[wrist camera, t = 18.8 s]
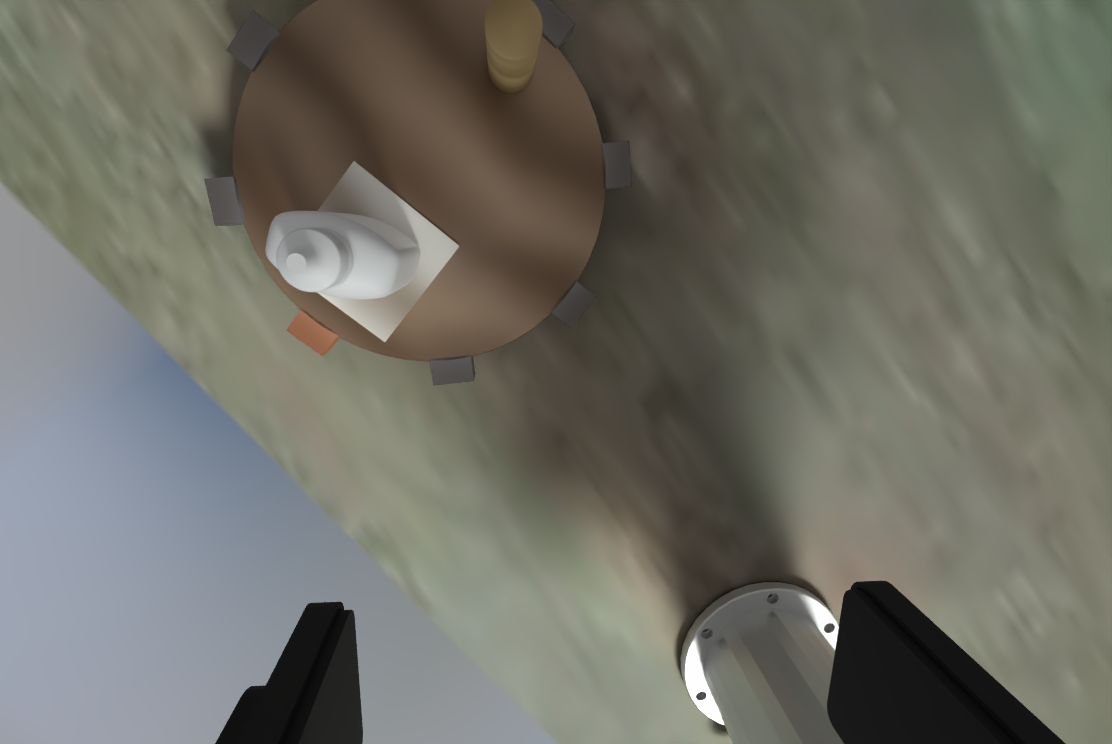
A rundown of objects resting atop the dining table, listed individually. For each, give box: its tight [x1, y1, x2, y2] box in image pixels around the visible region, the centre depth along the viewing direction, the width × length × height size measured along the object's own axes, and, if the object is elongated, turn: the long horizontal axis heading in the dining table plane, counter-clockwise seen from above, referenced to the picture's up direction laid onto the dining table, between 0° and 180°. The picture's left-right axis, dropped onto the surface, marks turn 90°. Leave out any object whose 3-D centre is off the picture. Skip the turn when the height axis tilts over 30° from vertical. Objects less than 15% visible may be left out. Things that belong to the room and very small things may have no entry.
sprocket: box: [204, 0, 632, 385], centre depth 29 cm, size 23×23×9 cm
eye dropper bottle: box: [265, 211, 420, 300], centre depth 27 cm, size 4×6×12 cm
